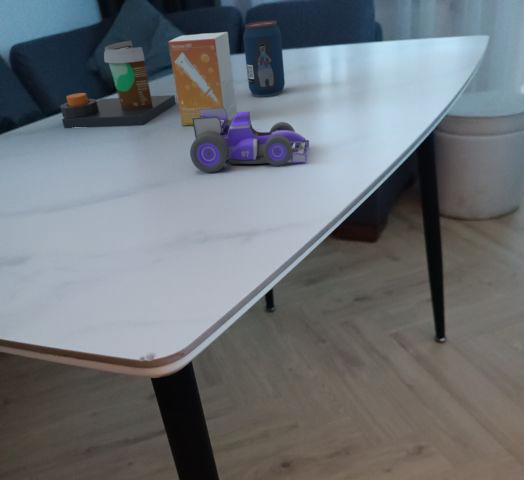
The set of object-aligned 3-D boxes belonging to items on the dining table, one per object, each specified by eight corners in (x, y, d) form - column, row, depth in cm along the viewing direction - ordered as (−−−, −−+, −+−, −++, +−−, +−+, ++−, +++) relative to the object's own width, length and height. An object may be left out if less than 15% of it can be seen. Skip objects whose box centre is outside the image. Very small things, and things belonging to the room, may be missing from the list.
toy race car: (306, 166, 76) (302, 114, 73) (193, 174, 79) (184, 123, 75) (309, 144, 84) (307, 96, 80) (206, 152, 86) (199, 105, 83)
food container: (111, 103, 114) (97, 45, 109) (142, 97, 116) (130, 40, 110) (120, 115, 105) (106, 52, 99) (154, 109, 106) (142, 47, 100)
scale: (58, 128, 109) (52, 108, 107) (98, 107, 120) (93, 89, 118) (143, 125, 104) (138, 104, 102) (176, 104, 115) (172, 84, 114)
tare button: (65, 108, 108) (62, 98, 107) (75, 103, 111) (72, 93, 110) (82, 107, 107) (79, 97, 106) (92, 102, 110) (89, 92, 109)
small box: (181, 126, 100) (166, 41, 93) (195, 116, 105) (182, 34, 98) (226, 125, 98) (214, 37, 91) (238, 115, 103) (228, 30, 96)
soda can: (272, 87, 119) (266, 19, 112) (292, 91, 114) (287, 20, 107) (243, 94, 116) (235, 25, 109) (262, 99, 111) (254, 27, 104)
